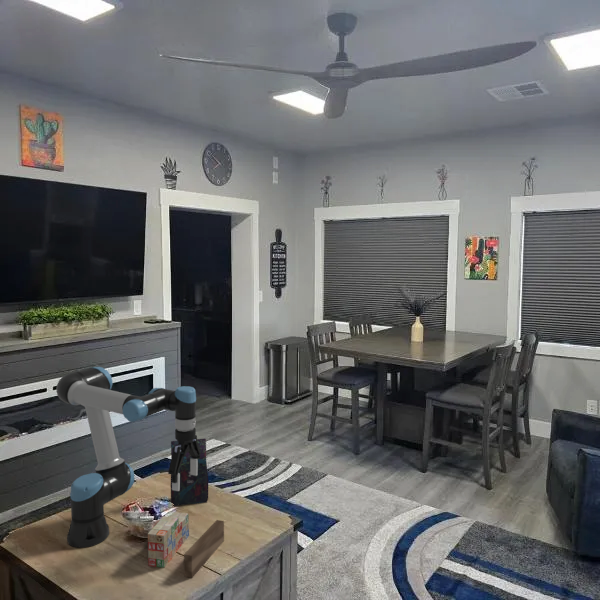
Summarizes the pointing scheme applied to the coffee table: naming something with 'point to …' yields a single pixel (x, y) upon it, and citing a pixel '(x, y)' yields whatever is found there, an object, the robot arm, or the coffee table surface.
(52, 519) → the coffee table surface
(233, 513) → the coffee table surface
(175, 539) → the stack of blocks
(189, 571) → the walnut board
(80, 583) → the coffee table surface
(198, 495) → the decorative box
